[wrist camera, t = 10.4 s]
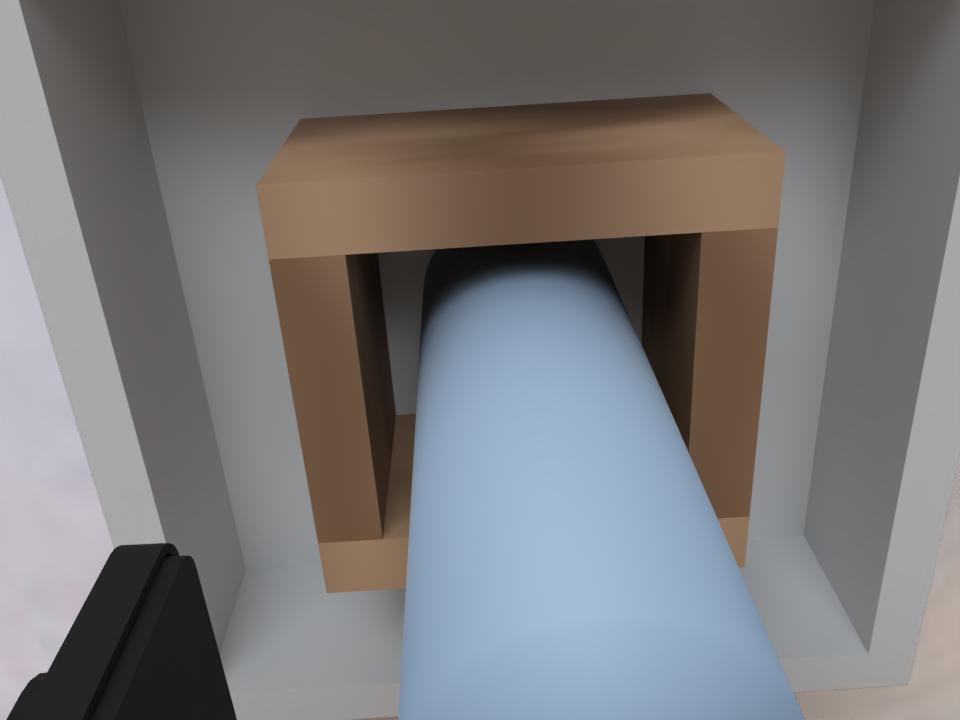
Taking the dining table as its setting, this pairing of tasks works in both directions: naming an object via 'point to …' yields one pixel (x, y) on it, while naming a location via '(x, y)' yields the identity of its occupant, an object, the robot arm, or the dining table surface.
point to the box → (251, 299)
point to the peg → (563, 514)
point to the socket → (517, 220)
